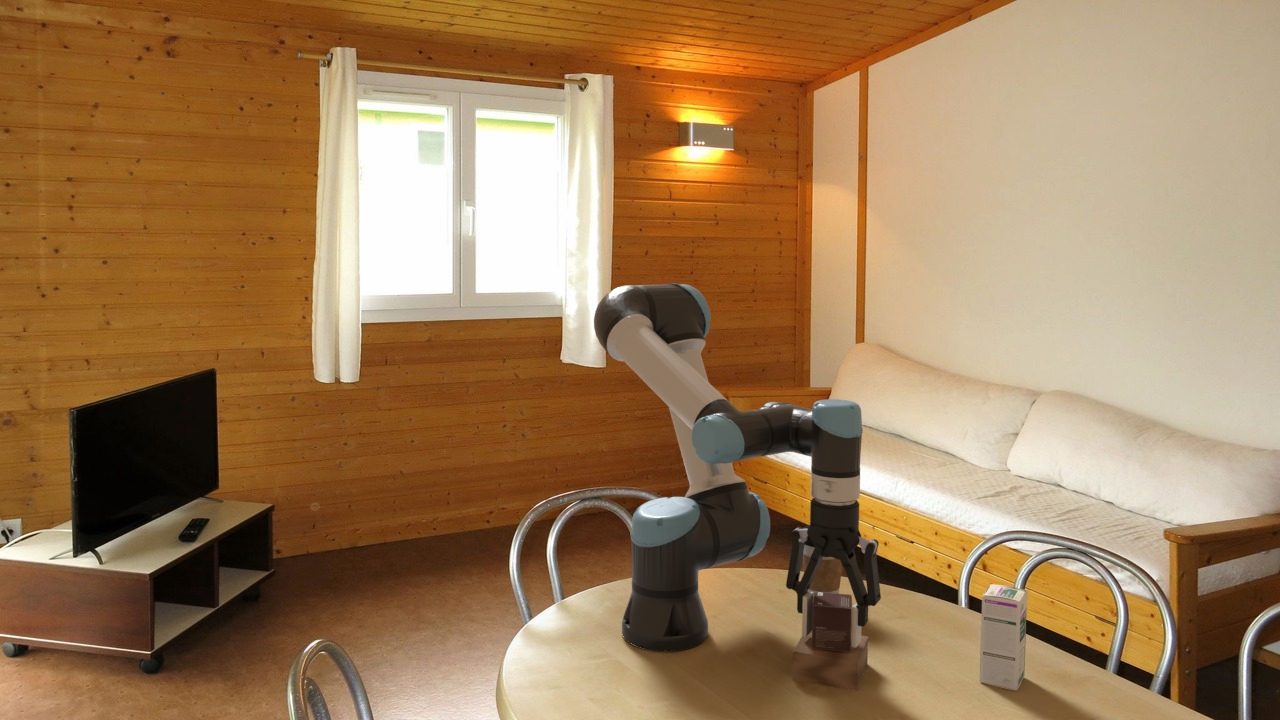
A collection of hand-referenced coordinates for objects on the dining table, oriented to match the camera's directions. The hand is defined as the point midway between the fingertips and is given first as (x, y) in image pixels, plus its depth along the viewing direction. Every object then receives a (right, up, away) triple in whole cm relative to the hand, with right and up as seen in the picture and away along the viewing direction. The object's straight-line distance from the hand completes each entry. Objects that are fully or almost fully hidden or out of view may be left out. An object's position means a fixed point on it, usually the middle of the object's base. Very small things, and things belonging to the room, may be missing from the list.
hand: (831, 638), depth 148 cm
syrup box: (+26, -6, -2) cm, 27 cm away
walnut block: (0, -6, +1) cm, 6 cm away
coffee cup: (+4, -2, +28) cm, 29 cm away
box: (0, -1, 0) cm, 1 cm away
